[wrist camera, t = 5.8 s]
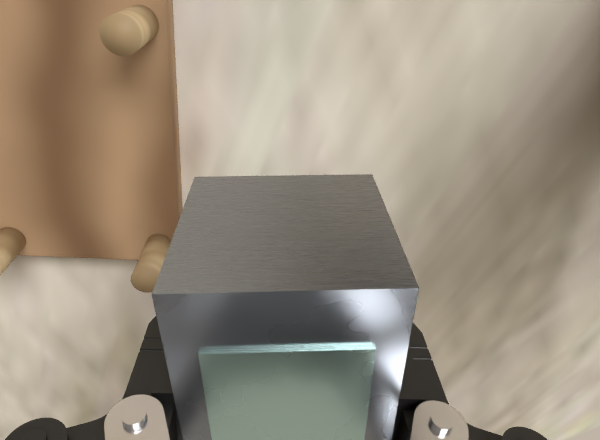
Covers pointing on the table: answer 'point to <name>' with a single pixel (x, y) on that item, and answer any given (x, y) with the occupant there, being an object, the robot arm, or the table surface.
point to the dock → (89, 132)
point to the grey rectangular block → (285, 309)
